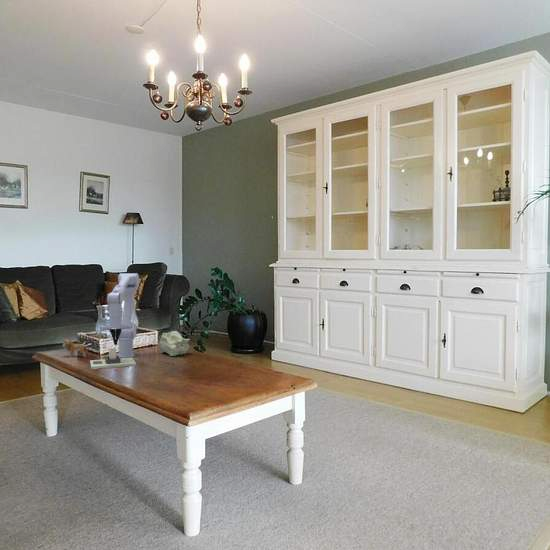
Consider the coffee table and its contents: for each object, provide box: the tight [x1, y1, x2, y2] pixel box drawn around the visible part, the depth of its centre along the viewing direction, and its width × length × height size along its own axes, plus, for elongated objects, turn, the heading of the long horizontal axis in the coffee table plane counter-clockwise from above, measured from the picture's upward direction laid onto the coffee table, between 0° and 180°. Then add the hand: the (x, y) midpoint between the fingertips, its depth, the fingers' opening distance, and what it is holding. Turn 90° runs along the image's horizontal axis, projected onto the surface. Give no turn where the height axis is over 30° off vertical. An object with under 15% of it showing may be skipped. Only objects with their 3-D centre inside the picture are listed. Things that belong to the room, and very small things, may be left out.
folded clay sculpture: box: [158, 330, 191, 357], centre depth 262 cm, size 18×13×16 cm
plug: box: [108, 348, 117, 359], centre depth 237 cm, size 5×3×6 cm, turn 23°
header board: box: [89, 355, 137, 370], centre depth 237 cm, size 15×20×3 cm
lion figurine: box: [62, 339, 92, 358], centre depth 255 cm, size 15×5×9 cm, turn 91°
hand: (115, 344), depth 238 cm, fingers closed
